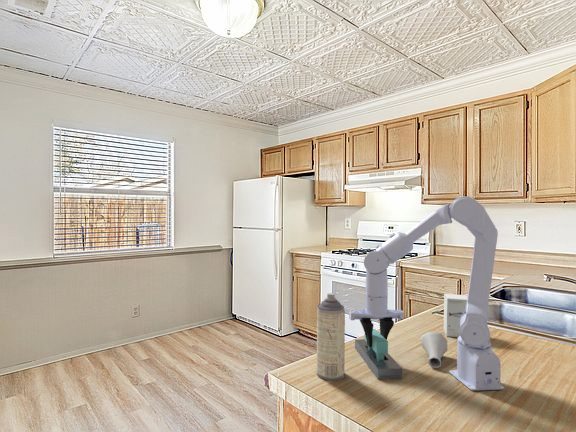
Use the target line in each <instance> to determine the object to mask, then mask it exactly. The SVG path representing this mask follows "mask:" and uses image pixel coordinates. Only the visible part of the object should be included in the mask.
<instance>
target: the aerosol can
mask: <svg viewBox="0 0 576 432" xmlns="http://www.w3.org/2000/svg"><path fill="white" fill-rule="evenodd" d="M345 313H346V311H345V306H344V305H343V304H341V302H340V301H339V300H338V299H337V298H336V297H335V293H333V292H329V293H327V296H326V298H324V300H323V301H321V303H320V304H318V305H317V308H316V316H317V317H316V376H317V377H318V378H320V379H321V380H324V381H340V380H342V379H344V377H345V359H346V358H345V352H346V351H345V348H346V347H345V345H346V344H345V343H346V339H345V336H346V335H345V333H346V332H345V328H346V327H345V325H346V324H345V323H346V321H345V319H346V314H345Z"/></svg>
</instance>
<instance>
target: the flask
mask: <svg viewBox="0 0 576 432" xmlns="http://www.w3.org/2000/svg"><path fill="white" fill-rule="evenodd" d="M420 346H421V347H422V348H423V350H424V351H425V353H426V354H427V356H428V365H429V366H430V367H431V368H432V369H439V368H441V367H442V360H441V359H442V357H443V356H444V355H445V354H446V352H447V351H448V339H447V338H446V336H444V334H442V332H439V331H428V332H426V333H423V335H421V337H420Z"/></svg>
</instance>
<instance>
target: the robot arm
mask: <svg viewBox="0 0 576 432" xmlns="http://www.w3.org/2000/svg"><path fill="white" fill-rule="evenodd" d="M452 219H453V220H454V221H455V222H457V223H459V224H461V226H464V227H465V228H467V230H468V231H469V232H470V233H471V234H472V235H473V236H474V244H473V251H472V259H471V260H472V261H471V266H470V267H471V269H470V273H469V274H470V276H469V283H468V290H467V302H466V308H465V311H464V313H463V314H462V315H461V317H460V330H459V332H460V336H459V337H456V338H457V344H456V346H457V348H456V357H457V358H456V359H457V360H456V369H454V370H449V374H450V375H452V376H453V377H454V378H456V379H457V380H458V381H459V382H460V383H462V384H463V385H464V386H465V387H466V388H468V389H469V390H470V391H473V392H474V391H475V392H476V391H490V390H491V391H494V390H495V391H496V390H504V389H505V387H504V386H503V385H502V384H501V367H502V366H501V360H500V358H499V357H498V355H497V354H496V353H495V352H494V350H493V347H492V342H491V340H490V339H491V331H490V328H489V326H488V325H489V323H488V318H489V317H488V316H489V314H488V313H489V303H490V293H491V288H492V287H491V286H492V279H493V271H494V266H495V258H496V257H495V256H496V250H497V243H498V235H499V233H498V229H497V227H496V225H495V224H494V222H493V220H492V219H491V218H490V215H489V214H488V212H487V210H486V209H485V207H484V206H483V205H482V204H481V203H480V202H479V201H477V200H476V199H474V198H473V197H470V196H466V195H465V196H459V197H457V198H455V199H454V200H453V201H452V202H451V203H450V202H448V203H447V204H445V205H443V206H441V207H439V208H437V209H436V210H434V211H433V212H431V213H430V214H429V215H428V216H426V217H425V218H424V219H422V220H421V221H420V222H419V223H417V224H415V225H414V226H413V227H412V228H410V229H409V230H408V231H407V232H402V231H401V232H400V231H399V232H396V233H393V232H392V234H390V235H388V236H389V238H388V239H387V240H386V241H384V242H383V243H381V245H380V244H377V245H376V246H375V250H372V251H369V252H368V253H367V254H366V255H365V257H364V259H363V265H364V269H365V270H366V271H365V274H366V275H365V309H360V310H359V309H358V310H350V311H348V318H349V320H350V321H355V320H359V322H360V325H361V327H362V329H363V332H364V336H365V335H366V340H367V345H368V346H369V347H372V332H373V329H374V323H373V322H372V320H378V321H379V333H380V334H381V335H382V336H383V337H384V338H385V339H386V340H387V341H388V338H389V335H390V332H391V330H392V328H393V327H394V325H395V320H393V319H396V320H397V319H399V320H404V319H405V311H403V310H402V309H388V290H389V289H388V288H389V287H388V286H389V285H388V283H389V282H388V280H389V278H388V268H389V266H390V265H393V264H394V263H396V262H397V261H399V260H400V259H402V258H403V257H404V256H406V255H408V254H409V253H410V252H412V251H413V249H414V243H415V242H416V241H418V240H419V239H421V238H422V237H424V236H425V235H427V234H428V233H430V232H431V231H433V230H434V229H436V228H437V227H438V226H441V225H448V224H453V220H452Z"/></svg>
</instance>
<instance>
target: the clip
mask: <svg viewBox="0 0 576 432" xmlns="http://www.w3.org/2000/svg"><path fill="white" fill-rule="evenodd" d="M364 339H365V341H366V342H367V340H366V335H365V334H364ZM368 350H374V351H375V352H376V360H384V353H388V354H389V341H388V339H387V340H386V339H385V338H384V337H383V336H382V335H381V334H380V331H378V330H377V329H376V328H373V332H372V347H369V346H368Z"/></svg>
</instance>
